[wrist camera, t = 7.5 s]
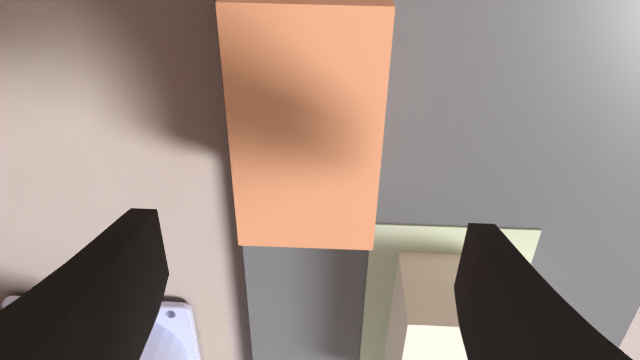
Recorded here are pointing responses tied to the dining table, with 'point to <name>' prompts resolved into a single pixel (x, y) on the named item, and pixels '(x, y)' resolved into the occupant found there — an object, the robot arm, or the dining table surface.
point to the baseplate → (482, 171)
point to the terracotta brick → (305, 117)
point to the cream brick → (424, 309)
